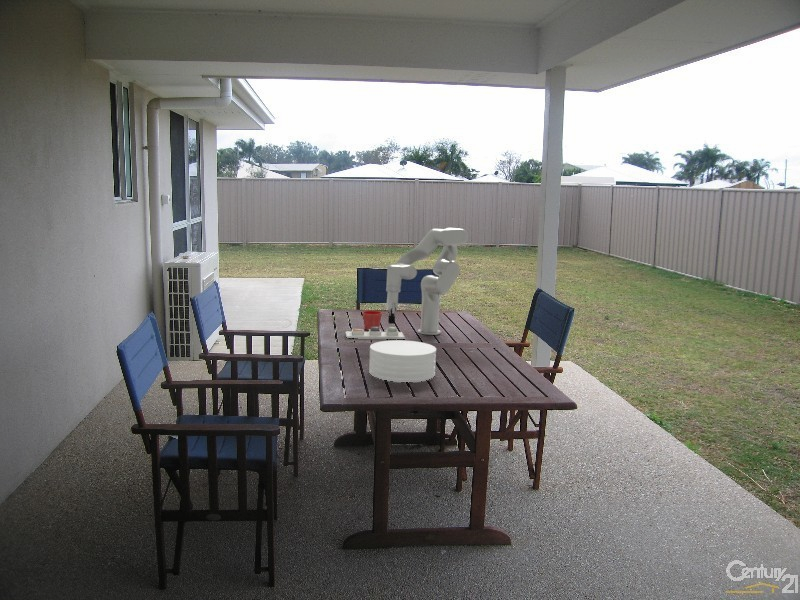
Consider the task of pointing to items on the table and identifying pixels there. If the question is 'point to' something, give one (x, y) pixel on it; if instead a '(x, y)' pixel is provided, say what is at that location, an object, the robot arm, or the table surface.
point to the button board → (374, 334)
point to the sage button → (391, 329)
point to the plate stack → (402, 361)
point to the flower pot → (371, 319)
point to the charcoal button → (374, 328)
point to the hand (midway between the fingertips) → (391, 323)
